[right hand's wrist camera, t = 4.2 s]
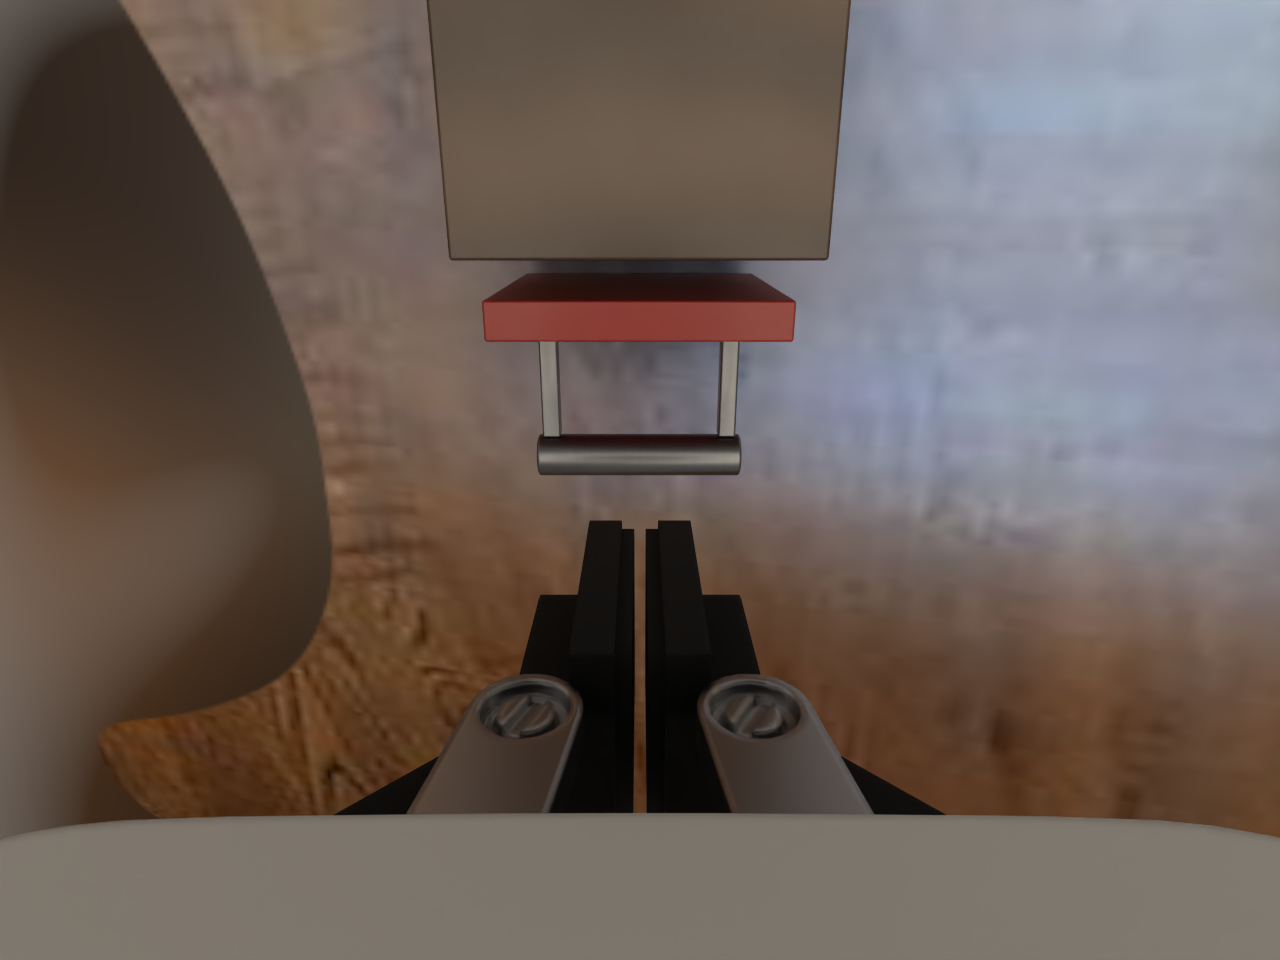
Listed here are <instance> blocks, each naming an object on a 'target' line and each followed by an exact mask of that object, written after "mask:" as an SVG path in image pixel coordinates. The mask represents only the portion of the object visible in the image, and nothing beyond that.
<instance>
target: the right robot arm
mask: <svg viewBox="0 0 1280 960" xmlns="http://www.w3.org/2000/svg"><path fill="white" fill-rule="evenodd" d="M634 697H635V605H634V529H622V521H590V522H589V528H588V534H587V540H586V547H585V553H584V559H583V565H582V572H581V578H580V584H579V590H578V595H540V598H539V601H538V605H537V609H536V612H535V616H534V620H533V624H532V628H531V632H530V636H529V640H528V644H527V648H526V651H525V655H524V659H523V663H522V667H521V671H520V675H517V676H512V677H507V678H504V679H502V680H499V681H497V682H494V683H492V684H490V685H489V686H487V687H486V688H484V689H483V690H481V691H480V692H479V693H478V694H477V695H476V696H475V697H474V699H473V700H472V701H471V702H470V704H469V705H468V707H467V709H466V711H465V712H464V714H463V716H462V718H461V719H460V721H459V723H458V725H457V726H456V728H455V730H454V732H453V733H452V735H451V737H450V738H449V740H448V742H447V744H446V745H445V747H444V749H443V751H442V752H441V754H440V756H438V757H437V758H435V759H433V760H431V761H429V762H428V763H426V764H424V765H422V766H421V767H419V768H417V769H415V770H413V771H412V772H410V773H408V774H406V775H404V776H403V777H401V778H399V779H397V780H395V781H394V782H392V783H390V784H388V785H387V786H385V787H383V788H381V789H379V790H378V791H376V792H374V793H372V794H370V795H369V796H367V797H365V798H363V799H361V800H360V801H358V802H356V803H354V804H353V805H351V806H349V807H347V808H345V809H344V810H342V811H340V812H338V813H336V814H335V815H324V816H230V817H201V818H174V819H146V820H120V821H110V822H100V823H90V824H80V825H70V826H62V827H57V828H51V829H45V830H40V831H34V832H28V833H23V834H17V835H12V836H6V837H2V838H0V960H1280V838H1278V837H1274V836H1268V835H1263V834H1257V833H1252V832H1246V831H1240V830H1235V829H1229V828H1223V827H1218V826H1210V825H1200V824H1190V823H1180V822H1170V821H1160V820H1134V819H1106V818H1079V817H1051V816H972V815H945V814H944V813H942V812H940V811H938V810H936V809H935V808H933V807H931V806H929V805H927V804H926V803H924V802H922V801H920V800H919V799H917V798H915V797H913V796H911V795H910V794H908V793H906V792H904V791H902V790H901V789H899V788H897V787H895V786H893V785H892V784H890V783H888V782H886V781H885V780H883V779H881V778H879V777H877V776H876V775H874V774H872V773H870V772H868V771H867V770H865V769H863V768H861V767H859V766H858V765H856V764H854V763H852V762H851V761H849V760H847V759H845V758H843V757H842V756H840V754H839V752H838V751H837V749H836V747H835V745H834V744H833V742H832V740H831V738H830V737H829V735H828V733H827V732H826V730H825V728H824V726H823V725H822V723H821V721H820V719H819V718H818V716H817V714H816V712H815V711H814V709H813V707H812V705H811V704H810V702H809V701H808V700H807V699H806V697H805V696H804V695H803V694H802V693H801V692H800V691H799V690H797V689H796V688H794V687H793V686H791V685H790V684H788V683H786V682H783V681H781V680H778V679H776V678H773V677H768V676H763V675H760V671H759V667H758V663H757V659H756V655H755V651H754V648H753V644H752V640H751V636H750V632H749V628H748V624H747V620H746V616H745V612H744V609H743V605H742V601H741V598H740V595H702V590H701V584H700V578H699V572H698V565H697V559H696V553H695V547H694V540H693V534H692V528H691V522H690V521H658V529H646V605H645V697H646V787H647V813H633V787H634Z"/></svg>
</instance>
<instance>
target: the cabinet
mask: <svg viewBox="0 0 1280 960" xmlns="http://www.w3.org/2000/svg"><path fill="white" fill-rule="evenodd" d="M850 5H851V0H427V9H428V20H429V32H430V43H431V55H432V66H433V78H434V89H435V100H436V112H437V123H438V135H439V146H440V158H441V169H442V181H443V192H444V203H445V215H446V226H447V238H448V249H449V258H450V259H451V260H827V259H828V257H829V247H830V236H831V224H832V213H833V201H834V190H835V178H836V166H837V155H838V143H839V132H840V120H841V109H842V97H843V86H844V74H845V63H846V51H847V39H848V28H849V16H850Z"/></svg>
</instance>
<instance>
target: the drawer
mask: <svg viewBox="0 0 1280 960" xmlns="http://www.w3.org/2000/svg"><path fill="white" fill-rule="evenodd" d="M482 310H483V323H484V337H485V341H487V342H539V359H540V380H541V400H542V421H543V434H541V435H539V438H538V442H537V466H538V471H539V474H540V475H738V474H739V472H740V468H741V440H740V437H739V435H738V434H735V426H736V405H737V384H738V363H739V342H791V341H793V337H794V323H795V310H796V302H795V301H794V300H792V299H791V298H789V297H788V296H786V295H784V294H783V293H781V292H780V291H778V290H777V289H775V288H773V287H772V286H770V285H769V284H767V283H765V282H764V281H762V280H761V279H759V278H757V277H756V276H754V275H753V274H526V275H524V276H523V277H521V278H519V279H518V280H516V281H515V282H513V283H511V284H510V285H508V286H507V287H505V288H503V289H502V290H500V291H498V292H497V293H495V294H494V295H492V296H490V297H489V298H487V299H486V300H484V301H483V302H482ZM558 342H720V356H719V382H718V409H717V434H561V432H562V425H561V399H560V373H559V348H558Z"/></svg>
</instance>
